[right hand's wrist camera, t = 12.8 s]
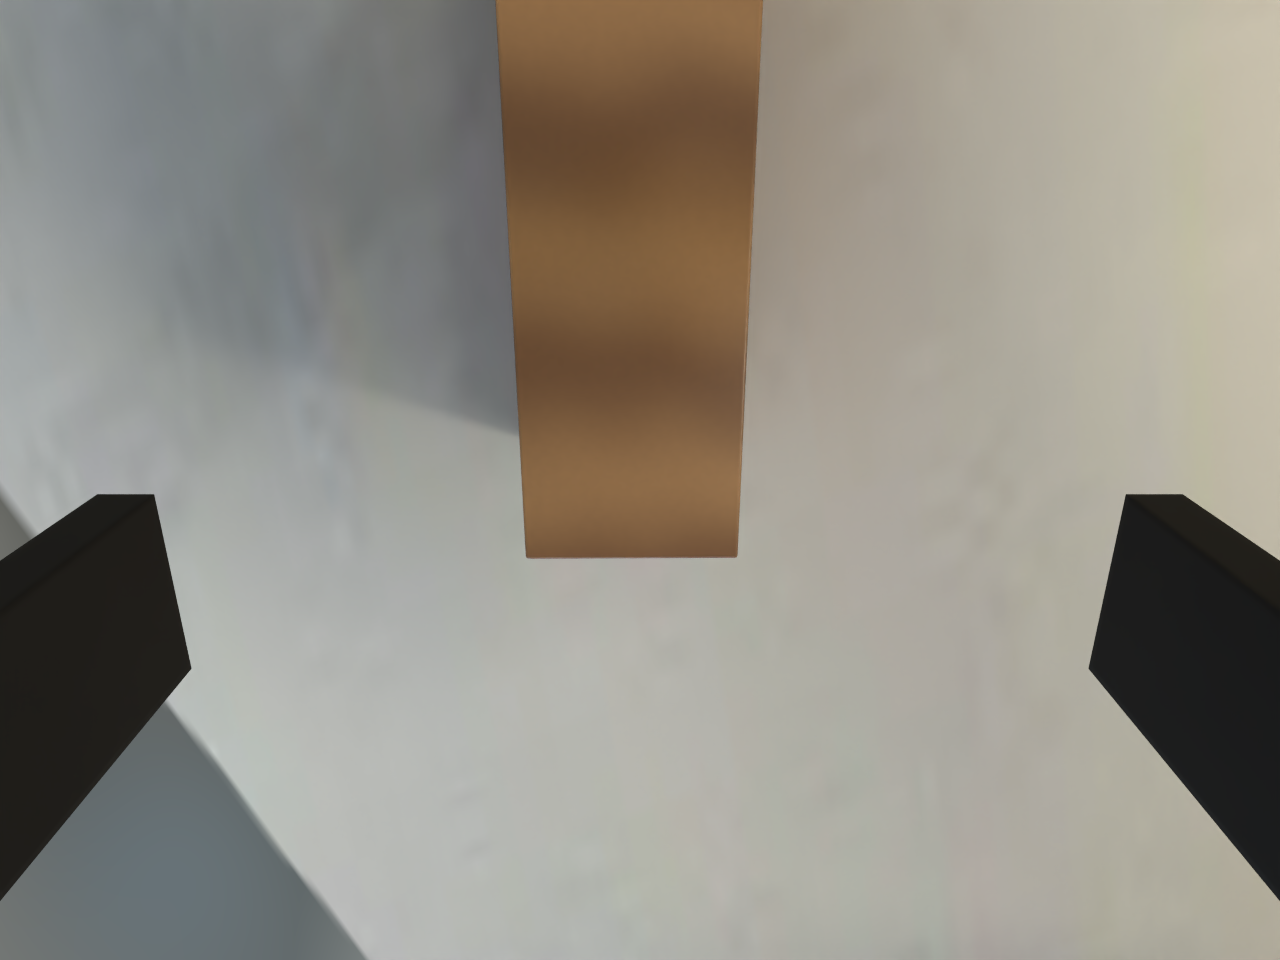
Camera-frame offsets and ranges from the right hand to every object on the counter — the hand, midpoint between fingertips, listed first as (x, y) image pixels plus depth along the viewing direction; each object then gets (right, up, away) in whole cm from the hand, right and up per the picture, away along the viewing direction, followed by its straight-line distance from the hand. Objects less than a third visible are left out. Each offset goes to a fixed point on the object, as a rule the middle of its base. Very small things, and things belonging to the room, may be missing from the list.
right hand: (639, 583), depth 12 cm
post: (0, +32, +7) cm, 33 cm away
